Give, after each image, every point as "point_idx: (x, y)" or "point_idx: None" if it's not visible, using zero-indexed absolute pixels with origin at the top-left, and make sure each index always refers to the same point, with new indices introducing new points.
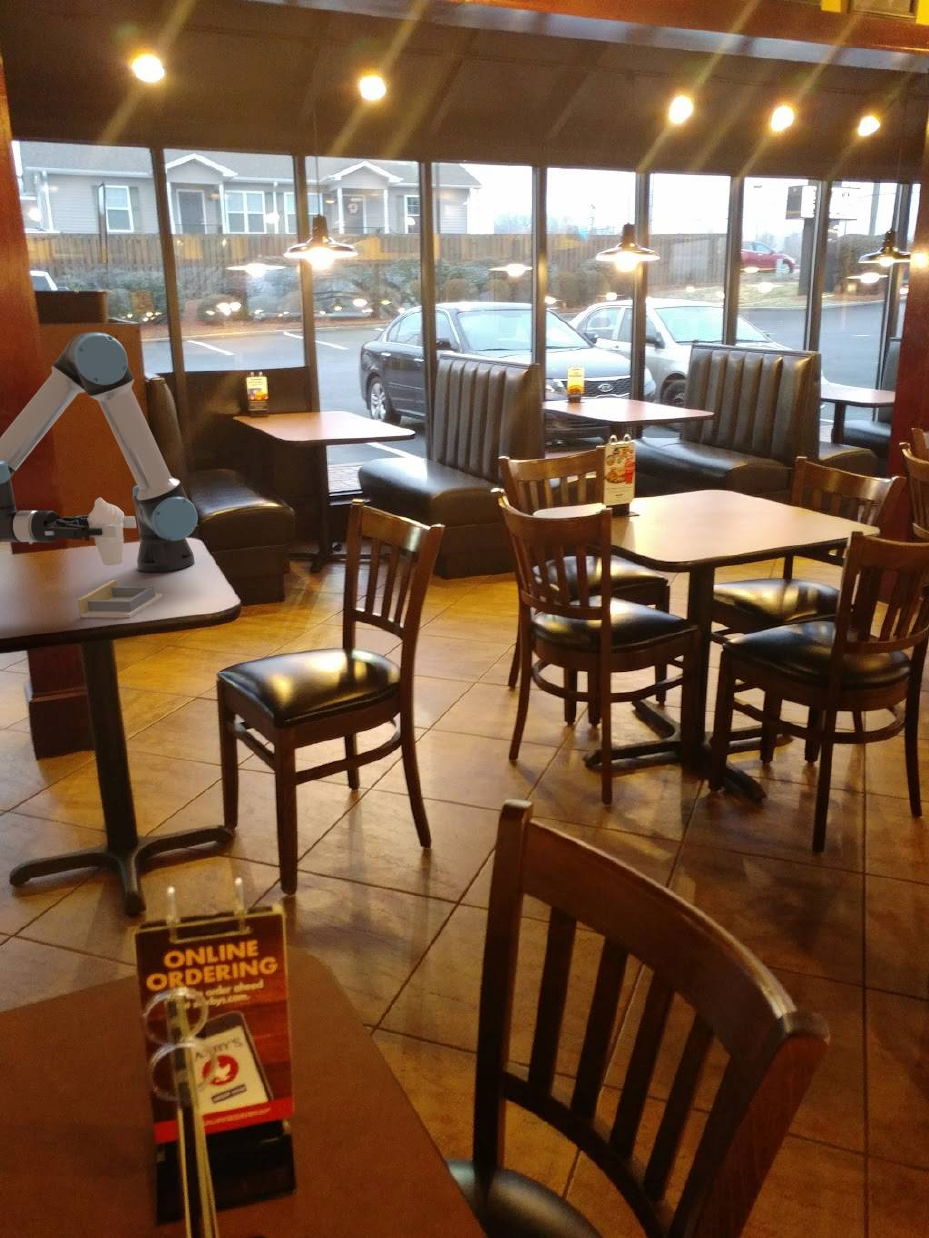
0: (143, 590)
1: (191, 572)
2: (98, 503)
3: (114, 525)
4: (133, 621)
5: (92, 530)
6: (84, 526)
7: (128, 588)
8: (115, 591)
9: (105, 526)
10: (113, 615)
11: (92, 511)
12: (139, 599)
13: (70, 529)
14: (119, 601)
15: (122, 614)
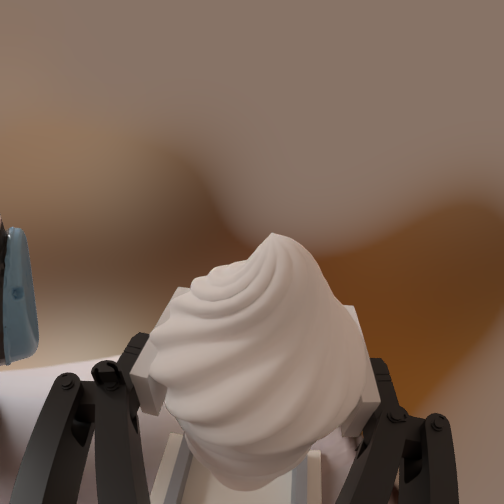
0: (190, 454)
1: (21, 393)
2: (320, 271)
3: (351, 306)
4: (337, 438)
5: (391, 387)
6: (402, 413)
7: (180, 486)
8: None
9: (361, 335)
10: (320, 484)
11: (327, 353)
12: None
13: (453, 462)
14: (306, 467)
15: (320, 464)
